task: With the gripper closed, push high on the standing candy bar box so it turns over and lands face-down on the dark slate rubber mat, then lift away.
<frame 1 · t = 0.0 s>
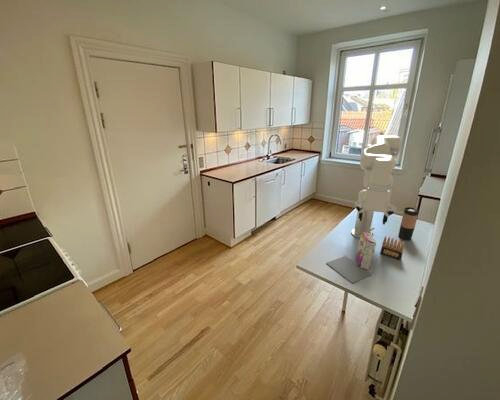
hand: (371, 221, 112), 31 cm above the table, tool pointing down, fingers open, 9 cm apart
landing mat: (348, 269, 128), on the table
ammunition clip: (390, 256, 138), on the table
travel mug: (404, 237, 157), on the table
candy bar box: (361, 263, 132), on the table
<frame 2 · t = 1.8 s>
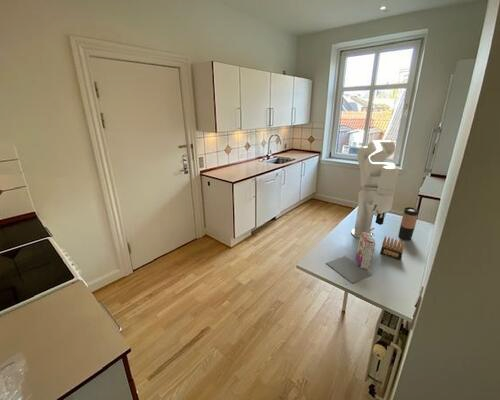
hand: (379, 223, 127), 23 cm above the table, tool pointing down, fingers closed
candy bar box: (361, 263, 132), on the table, touching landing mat
everything else where it was.
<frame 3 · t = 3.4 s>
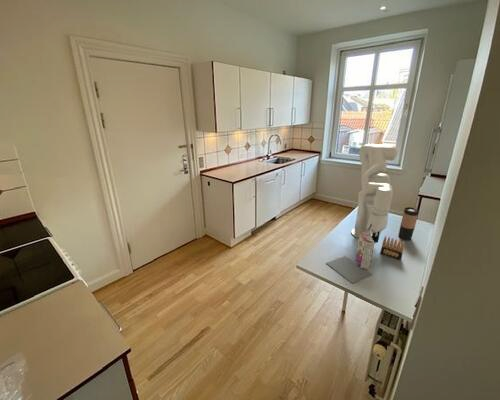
hand: (374, 241, 131), 12 cm above the table, tool pointing down, fingers closed
candy bar box: (361, 263, 132), on the table, touching gripper, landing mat
everything else where it was.
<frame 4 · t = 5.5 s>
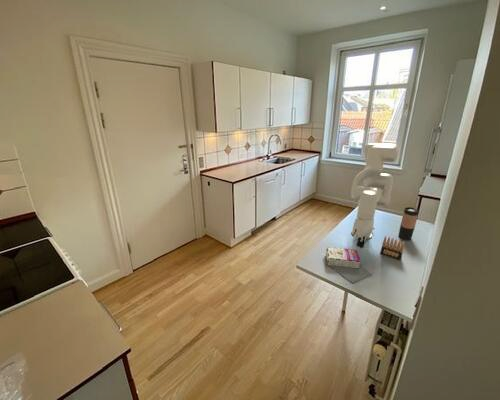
hand: (360, 246, 126), 12 cm above the table, tool pointing down, fingers closed
candy bar box: (358, 259, 131), point 3 cm above the table, touching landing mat
everything else where it was.
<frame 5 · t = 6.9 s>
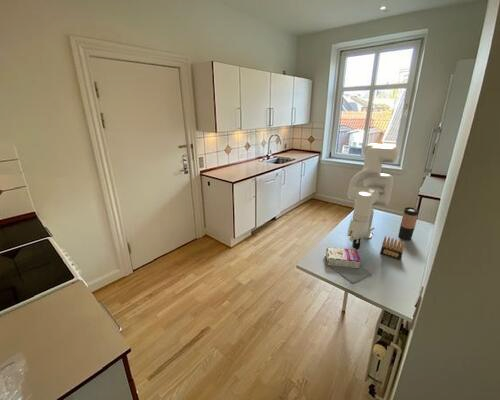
hand: (355, 248, 125), 12 cm above the table, tool pointing down, fingers closed
nothing on the table moved.
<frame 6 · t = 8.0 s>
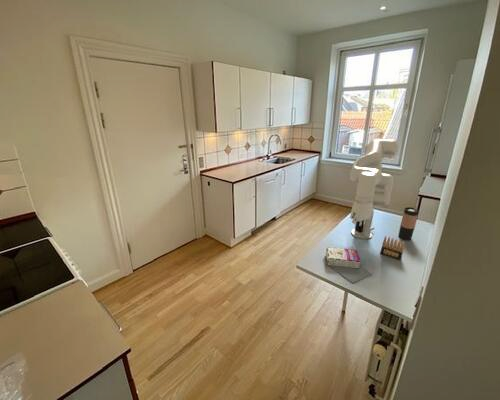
hand: (358, 231, 122), 22 cm above the table, tool pointing down, fingers closed
nothing on the table moved.
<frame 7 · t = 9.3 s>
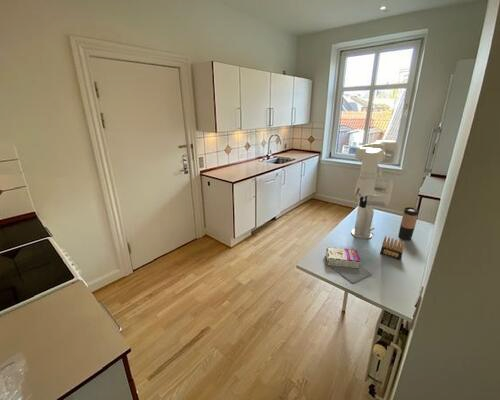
hand: (362, 206, 132), 29 cm above the table, tool pointing down, fingers closed
nothing on the table moved.
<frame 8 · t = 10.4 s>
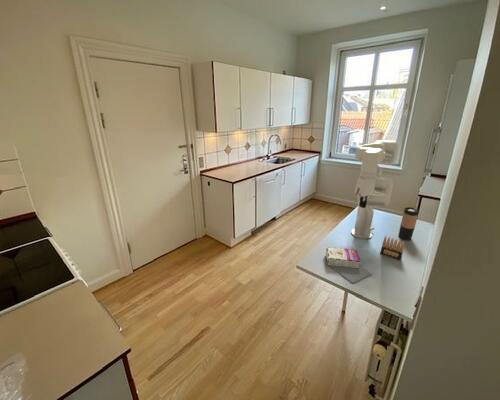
hand: (362, 206, 132), 29 cm above the table, tool pointing down, fingers closed
nothing on the table moved.
at the end: candy bar box tilted 89°; candy bar box touching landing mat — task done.
